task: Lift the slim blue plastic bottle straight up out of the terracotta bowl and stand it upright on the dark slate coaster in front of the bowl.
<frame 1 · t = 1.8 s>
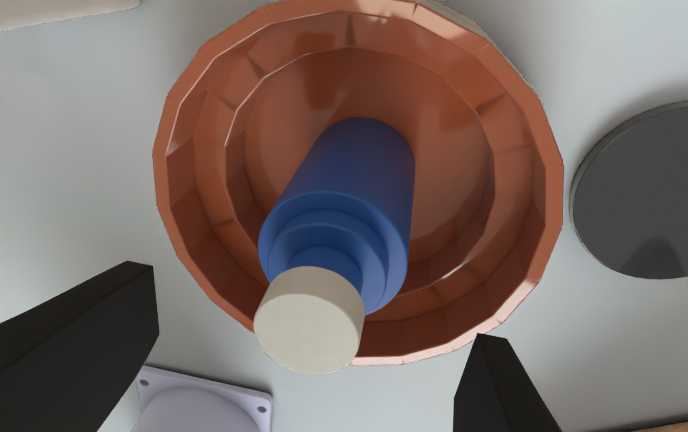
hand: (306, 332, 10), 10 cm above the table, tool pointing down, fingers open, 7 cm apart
coaster: (670, 193, 18), on the table
bowl: (363, 164, 19), on the table
bottle: (341, 228, 14), in the bowl
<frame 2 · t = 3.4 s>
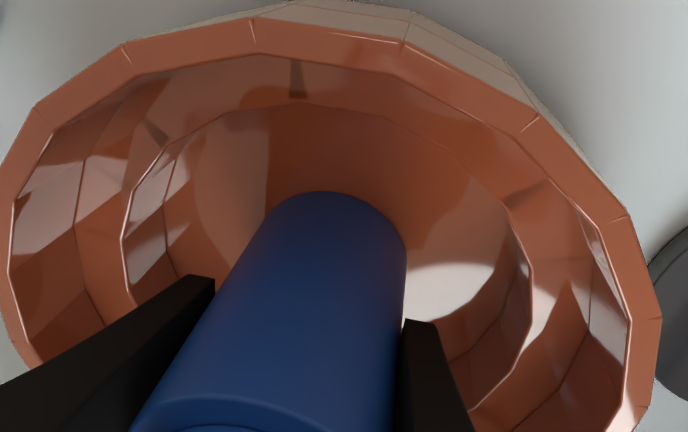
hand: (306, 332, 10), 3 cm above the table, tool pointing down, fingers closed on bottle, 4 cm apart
bowl: (334, 249, 13), on the table
bottle: (281, 400, 9), in the bowl, touching gripper
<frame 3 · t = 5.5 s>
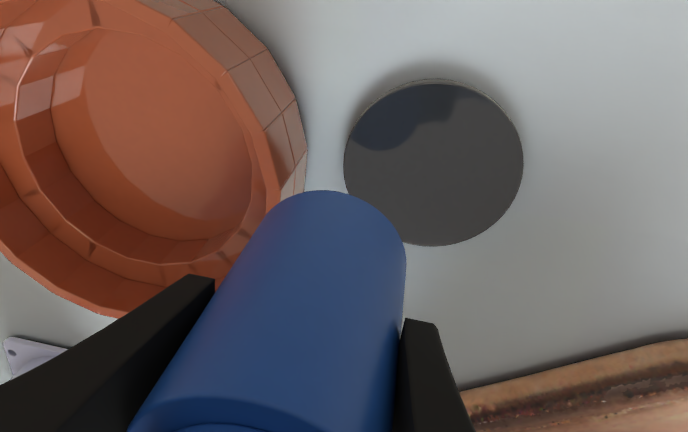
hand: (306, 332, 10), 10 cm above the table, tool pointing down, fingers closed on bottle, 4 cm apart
coaster: (430, 166, 19), on the table
bowl: (164, 139, 21), on the table
bottle: (281, 399, 9), point 12 cm above the table, touching gripper
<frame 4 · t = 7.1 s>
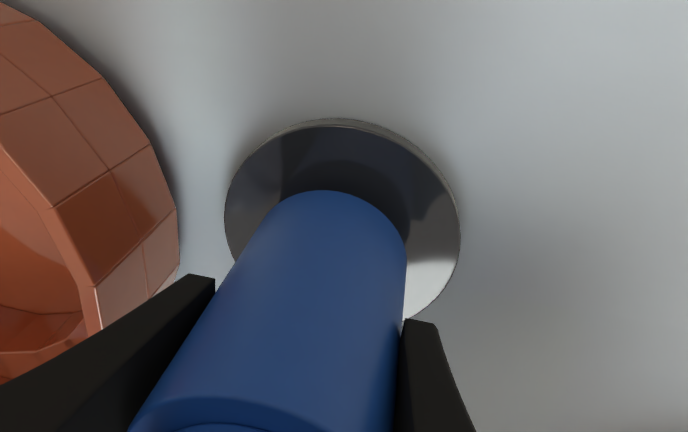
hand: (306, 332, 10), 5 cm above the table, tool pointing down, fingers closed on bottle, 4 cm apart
coaster: (341, 230, 14), on the table
bowl: (1, 191, 16), on the table
bottle: (281, 399, 9), point 6 cm above the table, touching gripper
when the fingers open (3 cm above the table, at t = 7.9 s): bottle stays where it is, resting on coaster.
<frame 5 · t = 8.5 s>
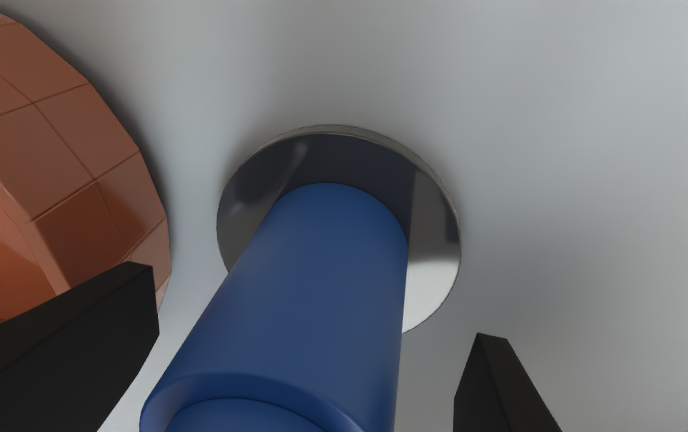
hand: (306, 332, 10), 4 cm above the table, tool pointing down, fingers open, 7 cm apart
coaster: (337, 240, 14), on the table
bottle: (288, 380, 9), on the coaster, point 5 cm above the table
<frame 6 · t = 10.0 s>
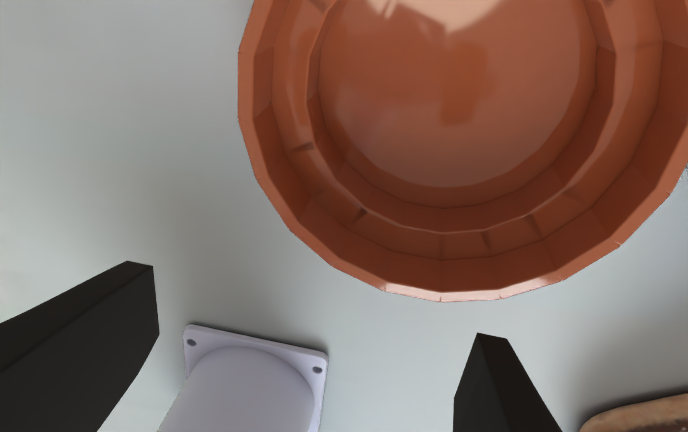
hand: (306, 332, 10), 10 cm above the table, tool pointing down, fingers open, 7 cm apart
bowl: (449, 85, 17), on the table
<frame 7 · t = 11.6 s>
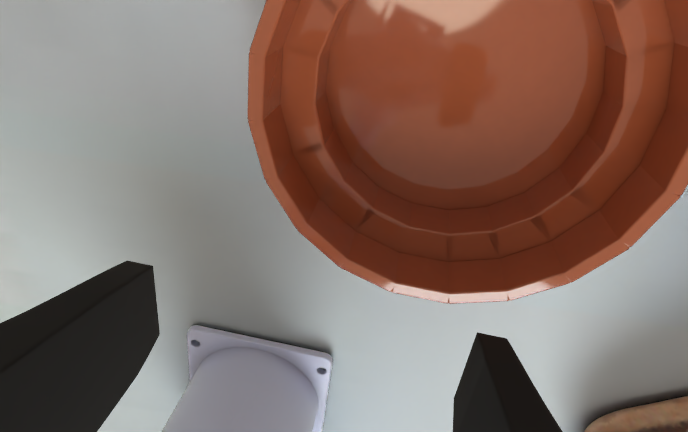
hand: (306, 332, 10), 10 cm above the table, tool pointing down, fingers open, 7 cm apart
bowl: (457, 87, 17), on the table
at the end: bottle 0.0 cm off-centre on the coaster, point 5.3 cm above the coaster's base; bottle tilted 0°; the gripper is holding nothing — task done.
